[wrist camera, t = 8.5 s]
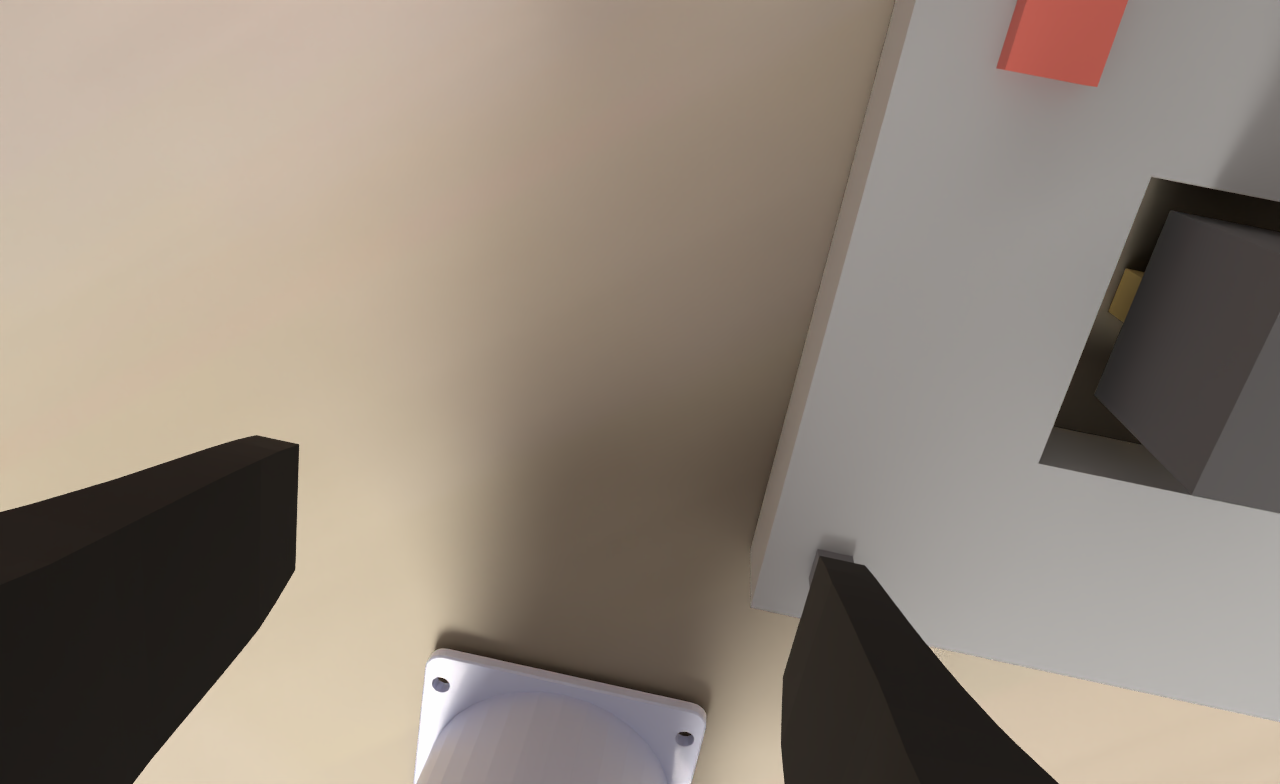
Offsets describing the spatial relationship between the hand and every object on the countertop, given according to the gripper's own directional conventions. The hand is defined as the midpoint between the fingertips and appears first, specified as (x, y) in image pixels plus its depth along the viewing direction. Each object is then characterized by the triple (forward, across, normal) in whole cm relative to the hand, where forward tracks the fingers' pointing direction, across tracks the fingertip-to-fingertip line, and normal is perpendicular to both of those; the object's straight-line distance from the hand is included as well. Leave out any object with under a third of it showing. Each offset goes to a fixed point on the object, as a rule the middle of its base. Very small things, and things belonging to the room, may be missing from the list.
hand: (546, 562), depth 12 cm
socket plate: (+10, -12, -3) cm, 16 cm away
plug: (+10, -12, -3) cm, 16 cm away
